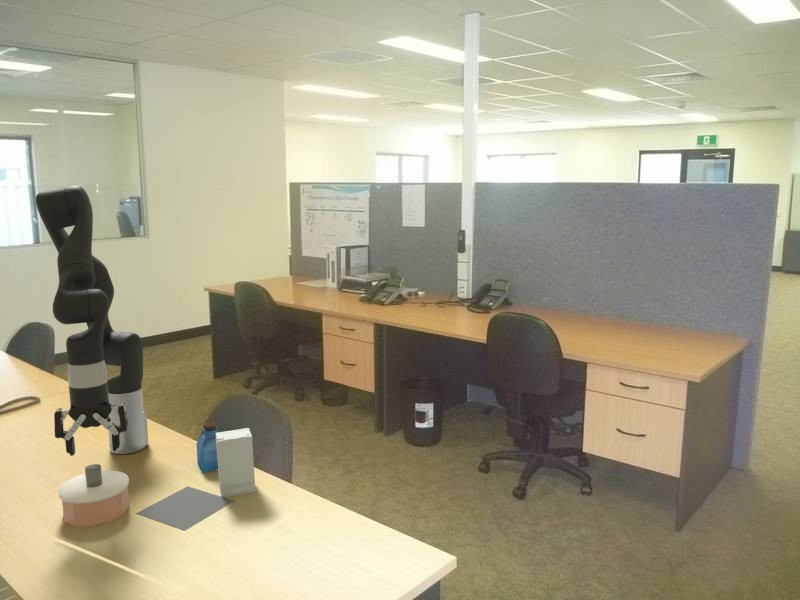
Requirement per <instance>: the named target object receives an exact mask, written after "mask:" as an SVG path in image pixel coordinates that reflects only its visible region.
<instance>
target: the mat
mask: <svg viewBox="0 0 800 600" xmlns="http://www.w3.org/2000/svg"><path fill="white" fill-rule="evenodd" d="M233 502H235V500H234V499H231V498H228V497H221V495H217V494H214V493H211V492H208V491H205V490H201V489H198V488H194V487H191V486H189V485H188V486H186V487H184V488H182V489H180V490H178V491H175V492H173V494H172V493H171V494H170V495H168V496H166V497H164V498H162V499H161V500H159V501H157V502H155V503H153V504H150V505H148V506H147V507H144V508H143V509H141V510H139V511H137V512H135V514H136V515H138V516H142V517H144V518H147V519H149V520H153V521H155V522H159V523H162V524H163V525H166V526H167V525H168V526H170V527H172V528H175V529H178V530H181V531H184V532H185V531H186V530H188V529H190V528H192V527H193V526H195V525H197V524H199V523H200V522H201V521H204V520H205V519H207V518H208V517H210V516H212V515H213V514H215V513H218V512H219V511H221V510H222V509H223V508H225V507H227V506H228V505H231V503H232V504H233Z"/></svg>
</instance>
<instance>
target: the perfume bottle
mask: <svg viewBox="0 0 800 600" xmlns="http://www.w3.org/2000/svg"><path fill="white" fill-rule="evenodd" d="M202 430H203V431H202V432H203V434H202V435H200V437H199V439H198V441H197V442H196V454H197V455H196V456H197V457H196V461H197V463H196V464H197V466H198V468H199V470H200V472H201V474H202V473H208V472H209V473H210V472H213V471H212V470H214V471H217V470H216V469H218V459H217V448H216V433H218V427H217V423H216V422H215V421H214V422H213V421H212V422H211V421H210V422H209V421H208V422H206V423H204V424H203V429H202Z"/></svg>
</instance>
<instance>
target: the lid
mask: <svg viewBox="0 0 800 600" xmlns="http://www.w3.org/2000/svg"><path fill="white" fill-rule="evenodd" d="M129 478H130V477H129V476H128V475H127V474H126V473H124V472H122V471H118V470H102V465H101V464H100V463H98V464H97V463H95V464H93V463H92V464H89V465H87V466H85V468H84V473H82V474H79V475H77V476H75V477H72V478H70V479H68V480H67V481H64V482H63V483H62V484H61V485H60V486H59V488H58V497H59V499H60V500H61V502H62V501H65V502H68V503H74V504H85V503H93V502H98V501H102V500H106V499H109V498H111V497H114V496H116V495H118V494H120V493H121V492H123V491H124V490H125V489H126V488H127V487H128V488H129V485H130V484H129V483H130V479H129Z"/></svg>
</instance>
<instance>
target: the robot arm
mask: <svg viewBox="0 0 800 600" xmlns="http://www.w3.org/2000/svg"><path fill="white" fill-rule="evenodd" d="M35 204H36V208H37V211H38V214H39V216H40V218H41V221H42V222H43V225H44V227H45V229H46V231H47V233H48V235H49V237H50V239H51V241H52V243H53V245H54V247H55V249H56V251H57V253H58V255H57V263H56V264H57V271H58V272H57V273H58V286H57V290H56V293H55V295H54V298H53V302H52V314H53V317H54V318H55V320H56V321H57V322H59V323H60V324H62V325H75V324H77V325H78V324H85V323H86V326H87V329H86V330H83V331H80V332H77V333H74V334H71V335H69V336H68V337H67V338H66V341H65V347H66V358H67V382H68V392H69V394H68V395H69V404H70V408H68V409H63V407H58V408H57V409H56V410H55V412H54V415H53V416H54V417H53V418H54V420H53V421H54V423H53V424H54V437H55V438H56V439H63V440H64V441H65V442H64V443H65V450H66V454H69V456H70V457H72V456H75V454H76V445H75V443H76V441H75V436H74V435H75V433H76V432H77V430H79V428H80V427H81V428H82V429H88V428H92V427H94V428H98V427H100V426H103V428H104V429H106V430H107V431H108V442H109V444H108V445H109V452H110V453H112V454H116V455H127V454H133V453H136V452H139V451H142V450H143V449H144V448H145V447H146V446H148V445H149V433H148V431H149V429H148V417H147V416H148V415H147V412H145V411H144V404H143V402H144V401H143V400H144V399H143V385H142V382H143V376H144V348H143V347H144V346H143V341H142V338H141V337H140V335H139V334H137V333H134V332H128V331H127V332H123V331H114V329H113V328H112V326H111V325H112V324H111V323H110V319H109V311H110V308H111V306H112V303H113V299H114V296H115V287H114V285H113V281H112V279H111V276H110V273H109V270H108V269H107V266H106V265H105V264H104V263H103V262H102V261H101V260H100V259H98V258H97V257H96V256H94V255H93V253H92V246H93V245H92V244H93V233H94V231H93V229H94V228H93V223H94V222H93V221H94V215H93V214H94V213H93V205H92V202H91V199H90V197H89V195H88V193H87V191H86V189H84V187H82V186H81V185H69V186H64V187H63V186H62V187H58V188H54V189H48V190H44V191H40V192H38V193H37V194H36V196H35ZM70 227H73V228H72V231H71V232H70V234H68V232H67V230H65V228H70ZM106 366H115V367H116V366H117V367H120V374H118V375H116V376H112V377H110V378H108V372H107V367H106ZM67 416H69V417H70V418H71V419H72V420H73V423H72V424H71V426H70V427H69V429H68V430H64V421H65V420H66V418H67Z"/></svg>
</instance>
